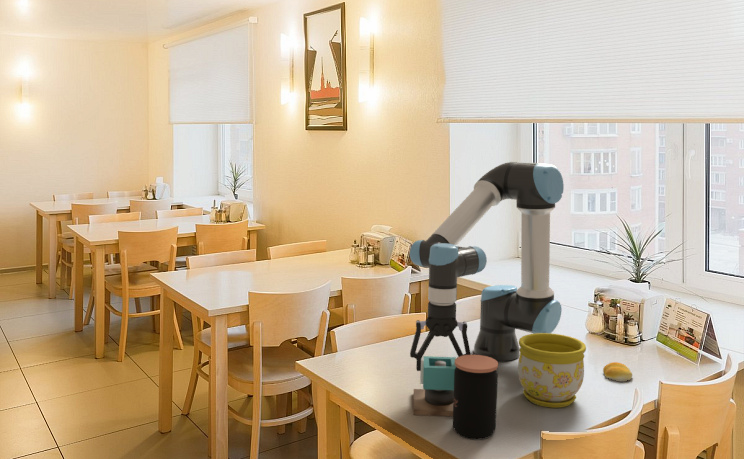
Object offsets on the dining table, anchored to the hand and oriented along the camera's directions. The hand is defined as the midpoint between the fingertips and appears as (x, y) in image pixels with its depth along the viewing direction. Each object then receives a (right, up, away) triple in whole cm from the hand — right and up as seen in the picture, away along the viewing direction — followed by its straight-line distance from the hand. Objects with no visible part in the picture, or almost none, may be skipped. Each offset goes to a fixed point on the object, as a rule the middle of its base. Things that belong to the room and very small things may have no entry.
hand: (439, 382), depth 179 cm
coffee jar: (+7, -9, -14) cm, 18 cm away
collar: (0, 0, 0) cm, 0 cm away
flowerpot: (+31, -6, +6) cm, 33 cm away
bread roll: (+57, -4, +24) cm, 62 cm away
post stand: (0, -6, +1) cm, 6 cm away
